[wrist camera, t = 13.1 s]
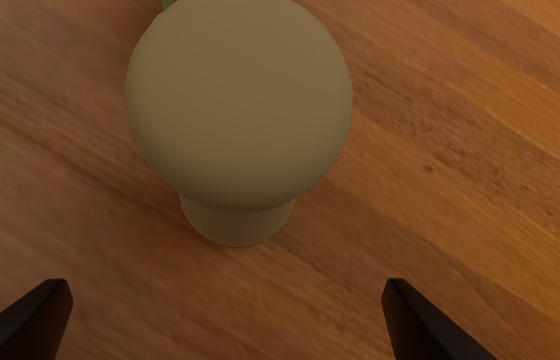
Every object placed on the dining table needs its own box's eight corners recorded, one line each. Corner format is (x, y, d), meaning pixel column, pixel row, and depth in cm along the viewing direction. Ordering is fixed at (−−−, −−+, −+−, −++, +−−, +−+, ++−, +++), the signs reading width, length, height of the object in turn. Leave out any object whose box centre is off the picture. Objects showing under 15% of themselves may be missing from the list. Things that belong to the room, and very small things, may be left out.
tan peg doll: (249, 112, 18) (271, -106, 7) (320, 198, 17) (455, 98, 7) (153, 176, 16) (3, 19, 6) (226, 273, 16) (208, 300, 5)
